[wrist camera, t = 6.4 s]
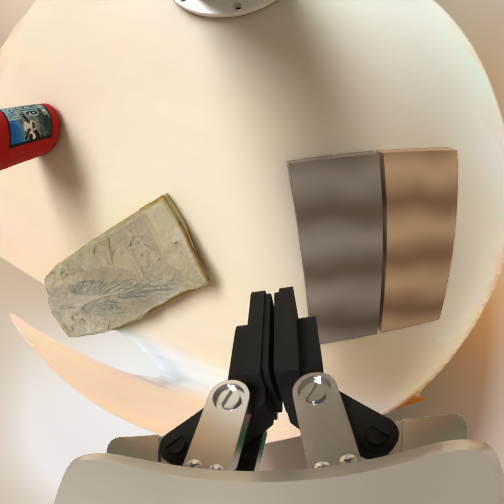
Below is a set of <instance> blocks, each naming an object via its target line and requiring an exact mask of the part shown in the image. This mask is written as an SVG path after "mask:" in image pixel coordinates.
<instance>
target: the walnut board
mask: <svg viewBox="0 0 504 504" xmlns="http://www.w3.org/2000/svg"><path fill="white" fill-rule="evenodd" d="M377 153H378V154H379V161H380V173H381V189H382V212H383V259H382V283H381V298H380V311H379V321H378V327H379V330H380V332H381V333H382V332H387V331H391V330H396V329H401V328H405V327H409V326H414V325H418V324H422V323H426V322H430V321H434V320H438V319H439V318H440V314H441V310H442V306H443V301H444V297H445V292H446V287H447V282H448V277H449V271H450V265H451V258H452V251H453V243H454V235H455V224H456V211H457V190H458V159H457V150H454V149H450V148H414V149H394V150H379V151H377Z"/></svg>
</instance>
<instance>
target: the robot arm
mask: <svg viewBox="0 0 504 504" xmlns="http://www.w3.org/2000/svg"><path fill="white" fill-rule="evenodd" d="M174 1H175V2H176V3H177V4H178V5H179V6H181V7H182V8H184V9H185V10H187V11H189V12H192V13H194V14H197V15H201V16H206V17H216V18H223V17H235V16H240V15H245V14H248V13H252V12H255V11H257V10H260V9H262V8H264V7H266V6H268V5H269V4H271V3H273V2H274V1H276V0H187V1H186V0H174ZM237 8H241V9H239V10H236V9H237ZM283 403H284V407H285V410H286V412H287V413H288V416H289V420H290V423H291V424H293V425H294V426H296V427H297V428H298V429H300V433H301V437H302V442H303V447H304V452H305V457H306V462H307V466H308V469H301V470H300V469H299V470H284V471H258V470H259V466H260V462H261V458H262V454H263V450H264V445H265V441H266V436H267V429H268V428H269V427H271V426H272V425H273V422H274V420H277V415H278V412H282V404H283ZM54 504H504V473H503V470H502V467H501V464H500V461H499V459H498V457H497V455H496V453H495V451H494V450H493V448H492V447H491V446H490V445H489V444H487V443H485V442H482V441H478V440H468V439H467V426H466V422H465V420H464V419H463V418H462V417H461V416H459V415H457V414H447V415H439V416H430V417H419V418H405V419H403V421H392V420H391V419H389V418H387V417H385V416H383V415H381V414H380V413H378V412H376V411H374V410H372V409H370V408H368V407H367V406H365V405H363V404H361V403H359V402H358V401H356V400H354V399H352V398H351V397H349V396H347V395H345V394H344V393H342V392H340V391H339V390H338V387H337V384H336V382H335V380H334V379H333V378H332V377H331V376H330V375H327V374H325V373H324V372H323V364H322V356H321V349H320V342H319V335H318V328H317V321H316V316H313V317H306V318H299V319H298V313H297V307H296V302H295V296H294V290H293V287H287V288H280V289H279V292H277V293H274V304H273V300H272V296H271V294H266V292H265V291H259V292H252V293H251V298H250V308H249V317H248V325H243V326H237V327H236V330H235V336H234V343H233V349H232V356H231V363H230V369H229V376H228V380H227V381H223V382H221V383H219V384H217V385H216V386H215V387H214V388H213V389H212V390H211V392H210V394H209V396H208V398H207V401H206V404H205V407H204V408H203V409H202V410H200V411H199V412H197V413H196V414H195V415H193V416H192V417H190V418H189V419H188V420H186V421H185V422H183V423H182V424H180V425H179V426H178V427H176V428H175V429H173V430H172V431H170V432H169V433H167V434H166V435H165V436H161V437H160V436H159V435H150V436H136V437H119V438H115V439H113V440H112V441H111V442H110V443H109V445H108V448H107V453H96V454H88V455H84V456H81V457H78V458H76V459H75V460H73V461H72V463H70V465H69V466H68V468H67V470H66V472H65V474H64V476H63V478H62V481H61V483H60V486H59V489H58V492H57V495H56V498H55V502H54Z"/></svg>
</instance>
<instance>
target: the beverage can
mask: <svg viewBox="0 0 504 504" xmlns="http://www.w3.org/2000/svg"><path fill="white" fill-rule="evenodd" d="M58 134H59V119H58V115H57V112H56V111H55V109H54V108H53V107H52V106H51V105H49V104H34V105H25V106H17V107H11V108H5V109H0V170H3V169H6V168H8V167H11V166H13V165H16V164H19V163H22V162H24V161H27V160H30V159H33V158H36V157H39V156H42V155H45V154H47V153H48V152H50V151H51V150H52V148H53V147H54V145H55V143H56V141H57V138H58Z"/></svg>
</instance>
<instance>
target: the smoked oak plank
mask: <svg viewBox="0 0 504 504" xmlns="http://www.w3.org/2000/svg"><path fill="white" fill-rule="evenodd" d="M287 165H288V171H289V177H290V182H291V189H292V195H293V201H294V207H295V214H296V221H297V227H298V234H299V241H300V249H301V256H302V264H303V272H304V280H305V288H306V297H307V306H308V315H309V317H313V316H316V321H317V328H318V335H319V342H320V344H325V343H331V342H336V341H342V340H347V339H353V338H358V337H363V336H368V335H372V334H377V330H378V321H379V311H380V298H381V283H382V259H383V212H382V189H381V173H380V161H379V154H378V153H375V152H373V151H367V152H357V153H347V154H338V155H330V156H322V157H314V158H307V159H300V160H293V161H287Z"/></svg>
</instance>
